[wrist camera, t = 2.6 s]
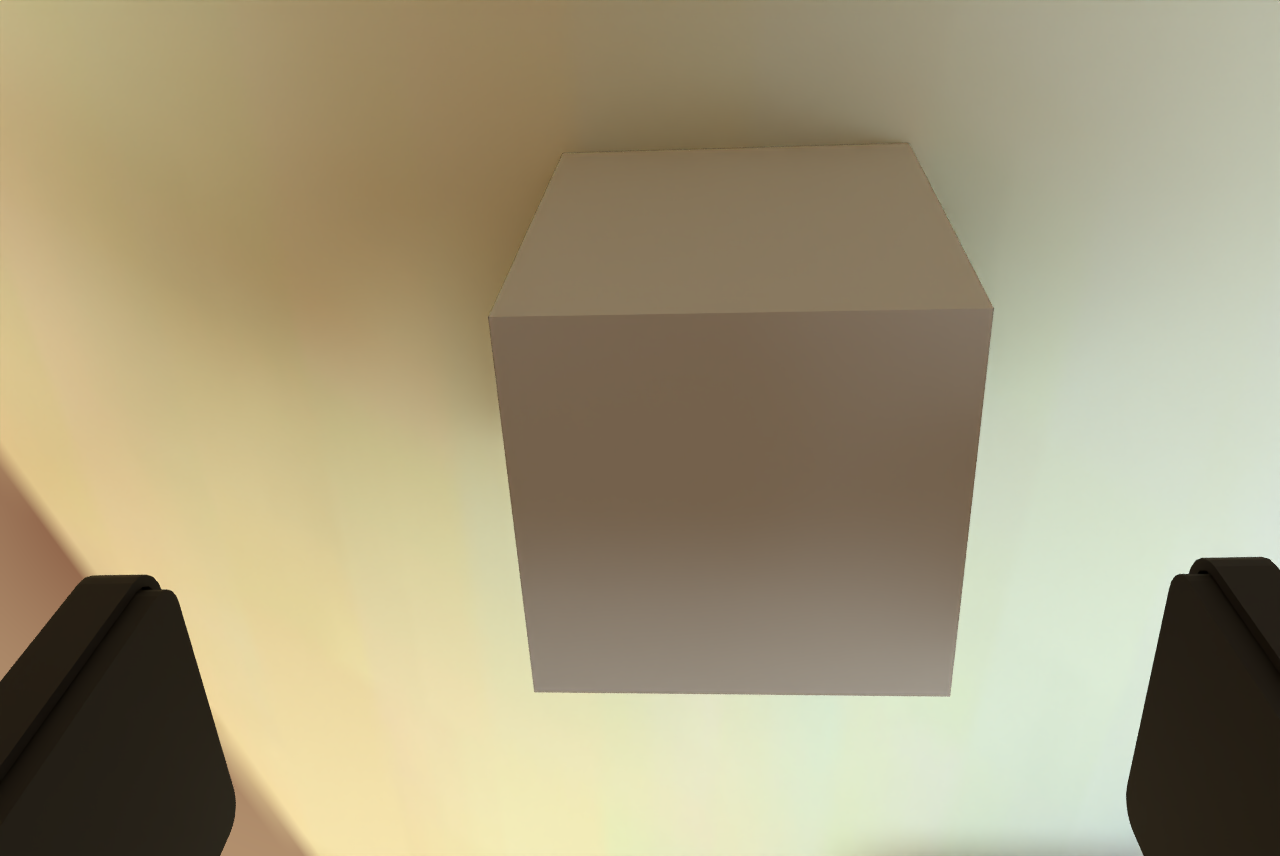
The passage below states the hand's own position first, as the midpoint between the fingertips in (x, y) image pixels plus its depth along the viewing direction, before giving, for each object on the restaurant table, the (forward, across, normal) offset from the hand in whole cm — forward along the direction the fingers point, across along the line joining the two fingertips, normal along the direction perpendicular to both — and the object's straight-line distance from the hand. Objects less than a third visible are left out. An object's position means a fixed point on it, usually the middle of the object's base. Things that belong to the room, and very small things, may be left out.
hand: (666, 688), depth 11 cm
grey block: (+8, -1, -1) cm, 8 cm away
